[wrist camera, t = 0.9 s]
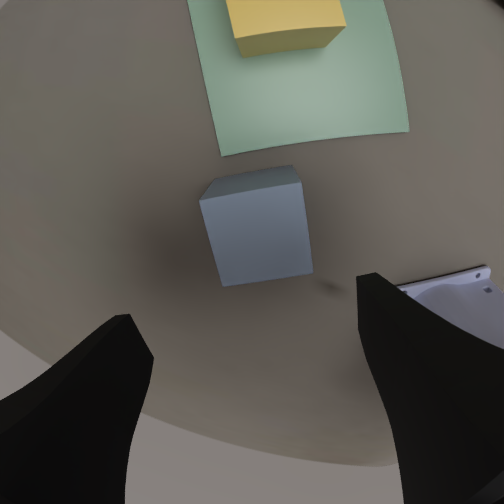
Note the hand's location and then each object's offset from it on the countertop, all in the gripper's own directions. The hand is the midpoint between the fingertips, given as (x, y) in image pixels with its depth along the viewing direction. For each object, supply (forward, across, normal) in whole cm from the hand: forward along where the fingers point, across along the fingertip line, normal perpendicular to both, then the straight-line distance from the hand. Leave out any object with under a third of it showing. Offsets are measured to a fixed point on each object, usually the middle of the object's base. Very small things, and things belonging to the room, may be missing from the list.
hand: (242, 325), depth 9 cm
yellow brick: (+10, -4, -11) cm, 15 cm away
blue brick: (+10, 0, 0) cm, 10 cm away
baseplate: (+10, -5, -9) cm, 14 cm away
